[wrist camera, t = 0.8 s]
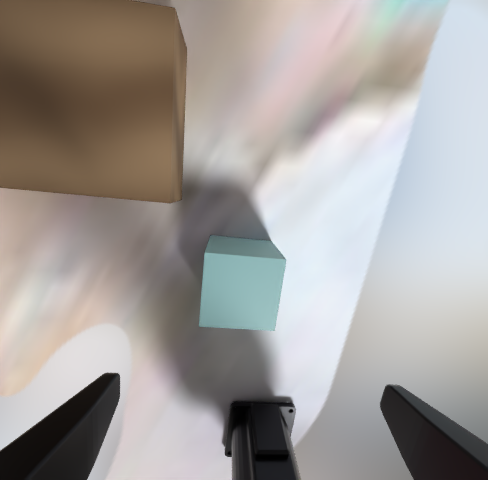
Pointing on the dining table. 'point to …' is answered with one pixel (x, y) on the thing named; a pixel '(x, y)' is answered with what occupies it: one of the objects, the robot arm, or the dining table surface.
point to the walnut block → (92, 98)
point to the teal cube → (241, 283)
